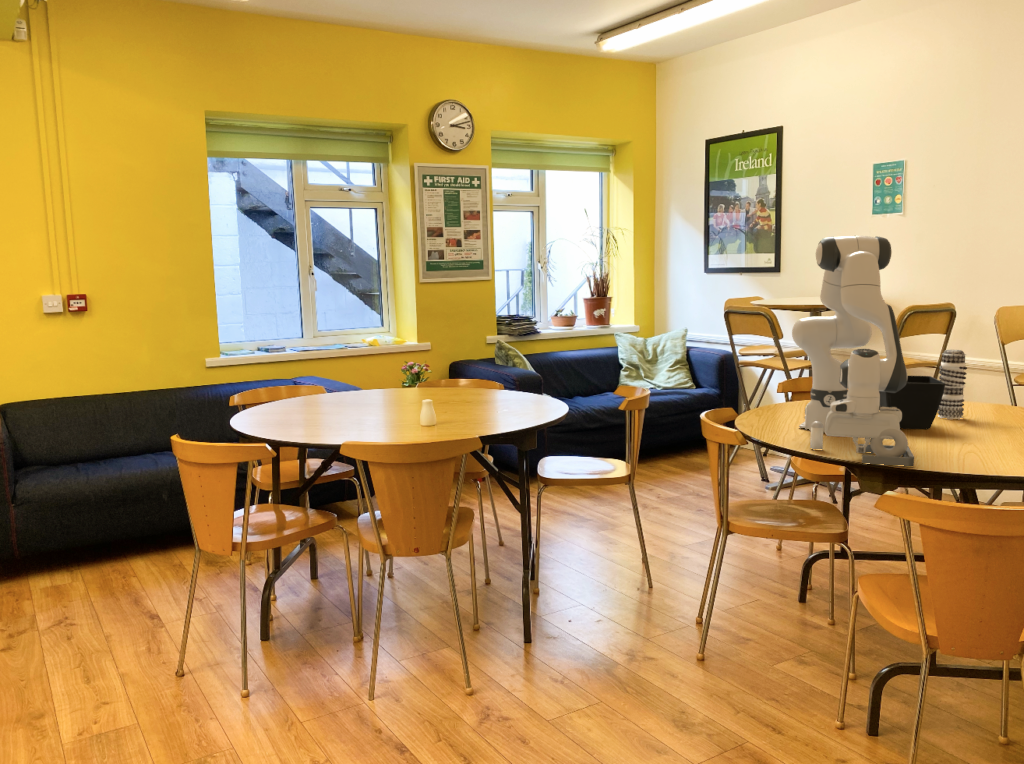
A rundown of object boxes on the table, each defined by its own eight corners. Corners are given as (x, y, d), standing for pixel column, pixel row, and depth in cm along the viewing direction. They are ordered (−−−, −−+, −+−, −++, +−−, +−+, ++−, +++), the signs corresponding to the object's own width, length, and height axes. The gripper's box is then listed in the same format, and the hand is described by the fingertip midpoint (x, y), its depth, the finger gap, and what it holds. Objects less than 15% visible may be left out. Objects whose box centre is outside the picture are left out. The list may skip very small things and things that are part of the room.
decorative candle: (957, 415, 312) (961, 349, 309) (968, 419, 303) (972, 351, 300) (932, 415, 313) (935, 349, 310) (942, 419, 304) (946, 351, 301)
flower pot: (943, 431, 281) (946, 382, 279) (883, 430, 285) (886, 381, 283) (927, 422, 299) (930, 375, 297) (871, 420, 303) (873, 375, 301)
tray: (858, 452, 251) (859, 442, 250) (906, 454, 246) (907, 444, 246) (862, 464, 235) (862, 453, 235) (913, 467, 231) (914, 456, 230)
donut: (907, 460, 239) (909, 426, 238) (906, 462, 236) (908, 428, 235) (869, 457, 244) (871, 423, 242) (868, 459, 241) (870, 425, 239)
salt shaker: (810, 447, 258) (811, 419, 256) (822, 448, 256) (823, 420, 255) (810, 450, 254) (811, 421, 253) (822, 450, 253) (823, 422, 252)
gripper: (901, 405, 240) (899, 452, 242) (825, 402, 247) (823, 448, 249) (903, 408, 234) (901, 457, 236) (825, 405, 241) (824, 452, 243)
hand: (860, 452), depth 243 cm, fingers closed
